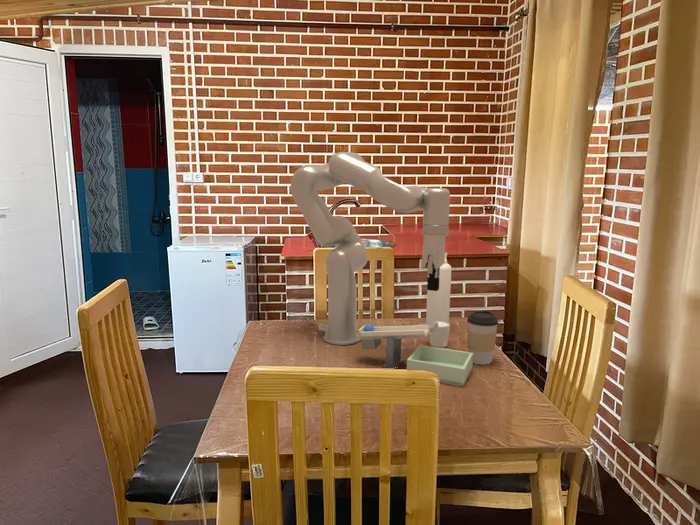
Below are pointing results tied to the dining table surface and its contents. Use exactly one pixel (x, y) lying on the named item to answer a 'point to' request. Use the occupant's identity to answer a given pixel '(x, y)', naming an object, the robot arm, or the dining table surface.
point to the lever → (394, 333)
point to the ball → (368, 327)
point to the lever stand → (393, 353)
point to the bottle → (440, 296)
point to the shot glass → (440, 334)
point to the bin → (443, 363)
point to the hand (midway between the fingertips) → (433, 289)
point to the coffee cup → (482, 336)
